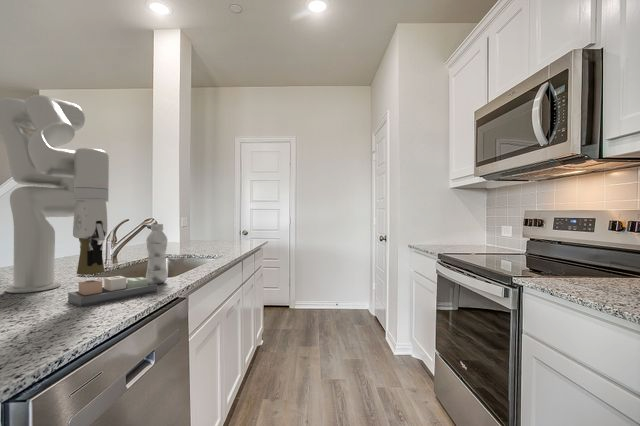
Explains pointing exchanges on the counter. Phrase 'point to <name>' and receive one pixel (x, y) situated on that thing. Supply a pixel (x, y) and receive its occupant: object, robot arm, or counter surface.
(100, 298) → the base
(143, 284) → the key sage
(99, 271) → the olive rounded piece
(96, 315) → the counter surface
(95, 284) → the peach square block
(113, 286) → the key cream
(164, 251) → the plastic bottle
